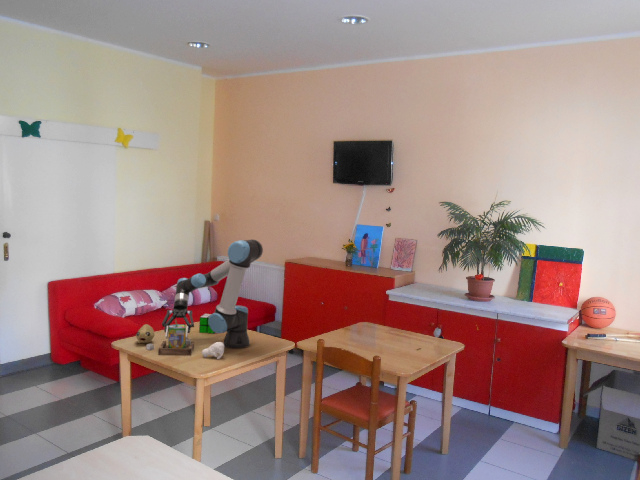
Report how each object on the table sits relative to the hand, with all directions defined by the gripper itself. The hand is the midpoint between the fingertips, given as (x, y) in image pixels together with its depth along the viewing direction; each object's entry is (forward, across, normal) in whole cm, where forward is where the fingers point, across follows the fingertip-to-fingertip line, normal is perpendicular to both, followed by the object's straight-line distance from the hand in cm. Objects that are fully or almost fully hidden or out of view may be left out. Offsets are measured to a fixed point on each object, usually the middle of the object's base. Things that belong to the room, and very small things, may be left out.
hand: (176, 337), depth 288 cm
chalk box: (+2, 0, -7) cm, 7 cm away
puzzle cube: (-26, -14, -38) cm, 49 cm away
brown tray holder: (+4, 0, -8) cm, 9 cm away
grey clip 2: (-6, -4, -18) cm, 19 cm away
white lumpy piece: (+12, -20, -1) cm, 23 cm away
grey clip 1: (+2, +15, -10) cm, 18 cm away
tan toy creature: (-6, +20, -18) cm, 27 cm away
